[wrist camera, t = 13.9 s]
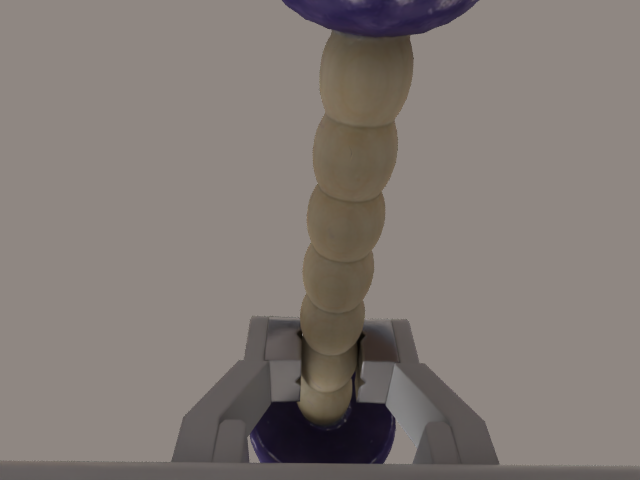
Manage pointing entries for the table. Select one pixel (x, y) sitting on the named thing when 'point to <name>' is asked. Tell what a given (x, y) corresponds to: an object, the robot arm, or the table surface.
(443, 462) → the robot arm
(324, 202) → the toy lamp
